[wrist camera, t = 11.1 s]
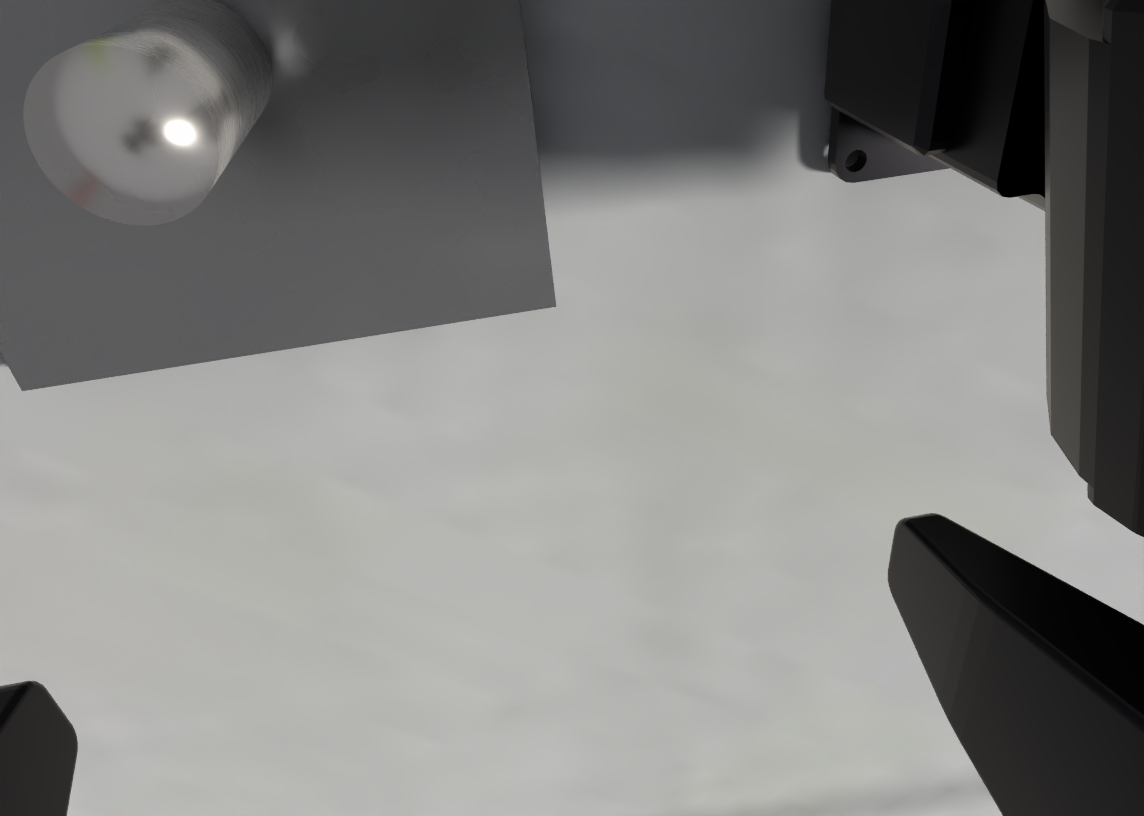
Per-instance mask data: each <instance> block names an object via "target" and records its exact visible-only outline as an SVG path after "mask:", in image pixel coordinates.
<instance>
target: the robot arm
mask: <svg viewBox="0 0 1144 816" xmlns="http://www.w3.org/2000/svg"><path fill="white" fill-rule="evenodd" d="M824 95H825V99H826V100H827V101H828V102H829V103H830V104H831V105H832V114H831V126H830V139H829V151H828V165H829V168H830V170H831V171H832V173H833V174H834V175H836V176H837V177H838V178H840V179H842V180H843V181H845V182H853V183H855V182H861V181H868V180H874V179H881V178H888V177H894V176H901V175H908V174H914V173H921V172H928V171H934V170H941V169H947V168H951V169H953V170H955V171H957V172H959V173H961V174H962V175H964V176H966V177H968V178H970V179H971V180H973V181H975V182H977V183H979V184H981V185H982V186H984V187H986V188H988V189H990V190H991V191H993V192H995V193H997V194H999V195H1001V196H1002V197H1010V198H1011V197H1019V198H1021V199H1023V200H1025V201H1027V202H1029V203H1030V204H1032V205H1034V206H1036V207H1038V208H1040V209H1042V210H1043V211H1045V240H1046V383H1047V403H1048V412H1049V421H1050V430H1051V435H1052V436H1053V438H1054V439H1055V441H1056V442H1057V444H1058V445H1059V447H1060V448H1061V450H1062V451H1063V453H1064V454H1065V456H1066V457H1067V458H1068V460H1069V461H1070V463H1071V464H1072V466H1073V467H1074V469H1075V470H1076V472H1077V473H1078V475H1079V476H1080V477H1081V478H1083V479H1084V480H1085V481H1086V482H1087V483H1088V487H1087V491H1088V498H1089V499H1090V501H1091V502H1092V503H1093V505H1095V506H1096V507H1098V508H1099V509H1101V510H1102V511H1103V512H1105V513H1106V514H1108V515H1109V516H1111V517H1112V518H1114V519H1115V520H1116V521H1118V522H1119V523H1121V524H1122V525H1124V526H1125V527H1127V528H1128V529H1129V530H1131V531H1133V532H1134V533H1136V534H1138V535H1140V536H1143V537H1144V0H831V12H830V25H829V39H828V53H827V66H826V80H825V93H824ZM855 150H859V157H858V160H857V161H856V162H855V163H854V164H853V165H852V166H849V167H846V164H845V162H846V159H847V157H848V155H849V154H850V153H851V152H853V151H855ZM888 582H889V587H890V591H891V593H892V596H893V598H894V601H895V603H896V605H897V607H898V610H899V612H900V614H901V616H902V619H903V621H904V623H905V625H906V628H907V630H908V632H909V634H910V637H911V639H912V641H913V643H914V646H915V648H916V650H917V652H918V655H919V657H920V659H921V661H922V664H923V666H924V668H925V670H926V673H927V675H928V677H929V679H930V682H931V684H932V686H933V688H934V691H935V693H936V695H937V697H938V700H939V702H940V704H941V706H942V708H943V710H944V712H945V714H946V716H947V718H948V720H949V722H950V724H951V726H952V728H953V730H954V731H955V733H956V735H957V737H958V739H959V741H960V742H961V744H962V746H963V748H964V749H965V751H966V753H967V754H968V756H969V758H970V760H971V761H972V763H973V765H974V767H975V768H976V770H977V772H978V773H979V775H980V777H981V779H982V780H983V782H984V784H985V786H986V787H987V789H988V791H989V792H990V794H991V796H992V798H993V799H994V801H995V803H996V805H997V806H998V808H999V810H1000V811H1001V813H1002V815H1003V816H1144V625H1143V624H1141V623H1139V622H1138V621H1136V620H1134V619H1132V618H1130V617H1128V616H1126V615H1125V614H1123V613H1121V612H1119V611H1117V610H1115V609H1114V608H1112V607H1110V606H1108V605H1106V604H1104V603H1103V602H1101V601H1099V600H1097V599H1095V598H1093V597H1091V596H1090V595H1088V594H1086V593H1084V592H1082V591H1080V590H1079V589H1077V588H1075V587H1073V586H1071V585H1069V584H1068V583H1066V582H1064V581H1062V580H1060V579H1058V578H1056V577H1055V576H1053V575H1051V574H1049V573H1047V572H1045V571H1044V570H1042V569H1040V568H1038V567H1036V566H1034V565H1033V564H1031V563H1029V562H1027V561H1025V560H1023V559H1022V558H1020V557H1018V556H1016V555H1014V554H1012V553H1010V552H1009V551H1007V550H1005V549H1003V548H1001V547H999V546H998V545H996V544H994V543H992V542H990V541H988V540H987V539H985V538H983V537H981V536H979V535H977V534H975V533H974V532H972V531H970V530H968V529H966V528H964V527H963V526H961V525H959V524H957V523H955V522H953V521H952V520H950V519H948V518H946V517H944V516H942V515H939V514H935V513H930V514H924V515H919V516H913V517H908V518H904V519H902V520H900V521H899V522H898V524H897V525H896V528H895V532H894V538H893V544H892V550H891V556H890V562H889V568H888ZM77 750H78V742H77V736H76V733H75V730H74V728H73V726H72V724H71V723H70V721H69V720H68V719H67V717H66V716H65V714H64V713H63V712H62V710H61V709H60V707H59V706H58V705H57V703H56V702H55V700H54V699H53V698H52V696H51V695H50V694H49V692H48V691H47V689H46V688H45V687H44V686H43V685H42V684H40V683H38V682H36V681H26V682H21V683H15V684H10V685H4V686H0V816H67V810H68V805H69V799H70V793H71V787H72V781H73V775H74V769H75V763H76V758H77Z"/></svg>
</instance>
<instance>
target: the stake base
mask: <svg viewBox="0 0 1144 816" xmlns="http://www.w3.org/2000/svg"><path fill="white" fill-rule="evenodd" d="M550 307H556V301H555V293H554V284H553V276H552V268H551V259H550V251H549V242H548V234H547V225H546V217H545V209H544V200H543V192H542V183H541V175H540V167H539V158H538V150H537V141H536V133H535V125H534V116H533V108H532V99H531V91H530V82H529V74H528V66H527V57H526V49H525V40H524V32H523V24H522V15H521V7H520V0H0V352H1V354H2V356H3V358H4V360H5V361H6V363H7V365H8V367H9V368H10V370H11V372H12V374H13V376H14V377H15V379H16V381H17V383H18V384H19V386H20V388H21V390H22V391H26V390H32V389H38V388H45V387H51V386H57V385H64V384H70V383H76V382H83V381H89V380H95V379H102V378H108V377H114V376H121V375H127V374H133V373H140V372H146V371H152V370H158V369H165V368H171V367H177V366H184V365H190V364H196V363H203V362H209V361H215V360H222V359H228V358H234V357H241V356H247V355H253V354H260V353H266V352H272V351H279V350H285V349H291V348H297V347H304V346H310V345H316V344H323V343H329V342H335V341H342V340H348V339H354V338H361V337H367V336H373V335H380V334H386V333H392V332H399V331H405V330H411V329H417V328H424V327H430V326H436V325H443V324H449V323H455V322H462V321H468V320H474V319H481V318H487V317H493V316H500V315H506V314H512V313H519V312H525V311H531V310H538V309H544V308H550Z"/></svg>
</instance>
